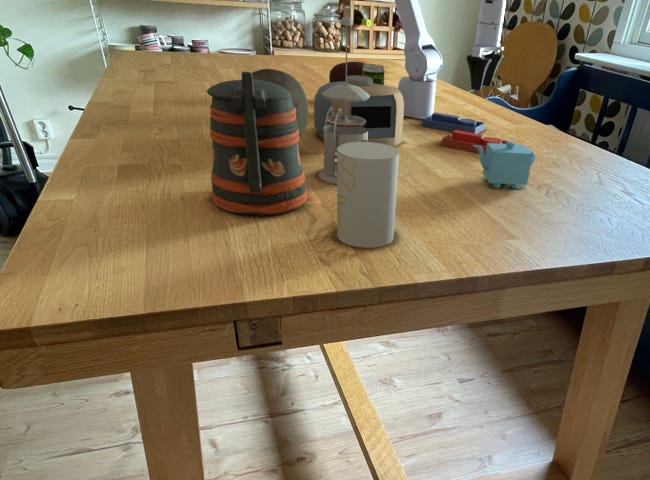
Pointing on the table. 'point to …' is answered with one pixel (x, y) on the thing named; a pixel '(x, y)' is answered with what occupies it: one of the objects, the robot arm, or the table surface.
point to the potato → (340, 71)
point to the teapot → (506, 163)
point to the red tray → (462, 144)
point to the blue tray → (452, 126)
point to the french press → (341, 121)
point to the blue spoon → (453, 120)
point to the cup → (366, 193)
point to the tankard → (255, 148)
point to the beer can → (374, 73)
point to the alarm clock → (366, 110)
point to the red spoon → (474, 138)
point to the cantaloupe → (293, 87)
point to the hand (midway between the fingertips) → (481, 87)
